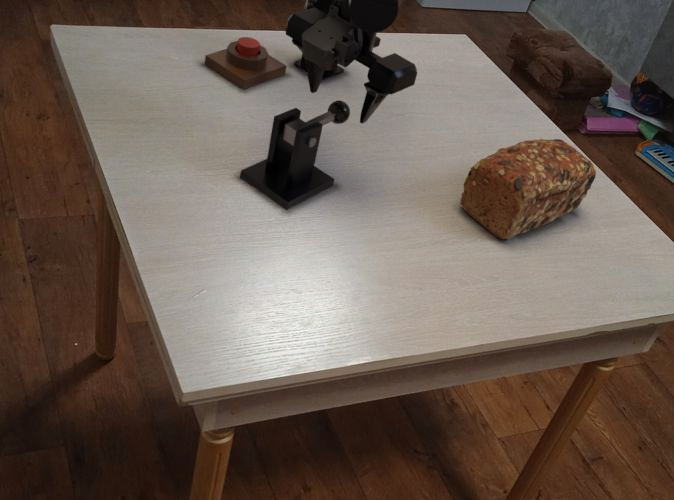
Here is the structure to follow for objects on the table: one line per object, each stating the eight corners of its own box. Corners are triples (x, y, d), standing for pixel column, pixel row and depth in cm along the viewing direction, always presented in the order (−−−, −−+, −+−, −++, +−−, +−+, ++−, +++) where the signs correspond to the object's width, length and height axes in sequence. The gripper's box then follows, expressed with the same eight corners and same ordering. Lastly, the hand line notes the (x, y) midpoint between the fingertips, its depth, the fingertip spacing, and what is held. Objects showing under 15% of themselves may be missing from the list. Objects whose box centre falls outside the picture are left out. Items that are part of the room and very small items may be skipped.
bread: (504, 246, 117) (529, 187, 110) (452, 204, 121) (473, 146, 115) (581, 213, 127) (609, 158, 120) (530, 176, 132) (554, 120, 125)
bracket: (287, 155, 122) (298, 95, 115) (333, 185, 119) (347, 125, 112) (239, 177, 115) (248, 114, 109) (286, 209, 112) (298, 147, 105)
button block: (246, 51, 142) (249, 31, 140) (285, 74, 139) (288, 55, 137) (204, 64, 136) (206, 44, 133) (243, 89, 133) (246, 69, 130)
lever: (335, 113, 120) (339, 93, 117) (352, 123, 118) (356, 104, 116) (279, 140, 112) (282, 119, 110) (296, 151, 111) (300, 130, 109)
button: (247, 45, 137) (248, 35, 136) (263, 54, 136) (264, 44, 134) (231, 49, 135) (233, 39, 133) (247, 59, 133) (249, 49, 132)
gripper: (266, -23, 103) (250, 91, 114) (380, 42, 97) (352, 156, 108) (323, -37, 110) (303, 72, 121) (433, 23, 104) (402, 132, 115)
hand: (337, 107), depth 116 cm, fingers open, 9 cm apart
